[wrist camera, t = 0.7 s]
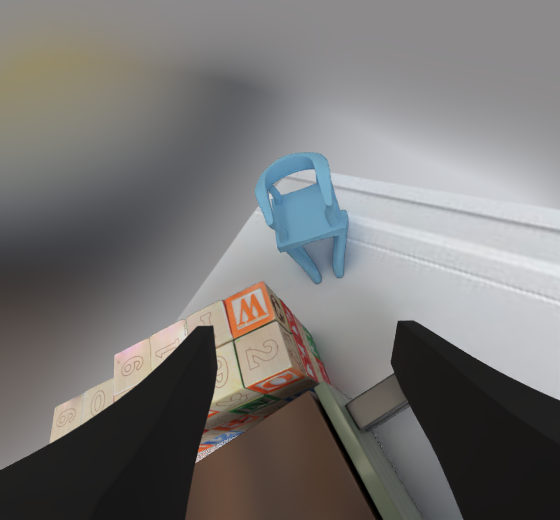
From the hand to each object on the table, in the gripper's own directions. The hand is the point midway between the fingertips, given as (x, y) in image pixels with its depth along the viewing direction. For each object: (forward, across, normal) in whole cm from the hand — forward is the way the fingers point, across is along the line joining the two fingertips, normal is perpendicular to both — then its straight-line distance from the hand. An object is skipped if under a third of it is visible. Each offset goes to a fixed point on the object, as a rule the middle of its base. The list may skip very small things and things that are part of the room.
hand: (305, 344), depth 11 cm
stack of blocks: (+12, +6, +17) cm, 22 cm away
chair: (+22, -5, +4) cm, 23 cm away
